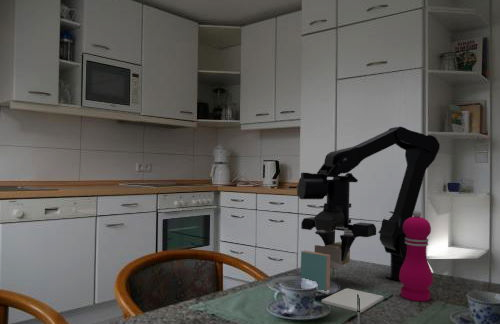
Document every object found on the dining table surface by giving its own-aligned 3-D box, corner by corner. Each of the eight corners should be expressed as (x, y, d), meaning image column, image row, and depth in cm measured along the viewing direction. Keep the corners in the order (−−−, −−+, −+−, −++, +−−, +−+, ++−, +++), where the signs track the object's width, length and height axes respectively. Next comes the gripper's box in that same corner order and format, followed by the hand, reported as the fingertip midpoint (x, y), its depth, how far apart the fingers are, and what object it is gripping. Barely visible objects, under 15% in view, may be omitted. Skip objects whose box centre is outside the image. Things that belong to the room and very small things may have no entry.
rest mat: (346, 290, 98) (346, 288, 98) (383, 298, 93) (383, 296, 93) (321, 302, 89) (321, 299, 89) (360, 312, 83) (361, 309, 83)
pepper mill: (417, 304, 90) (419, 212, 90) (391, 294, 96) (393, 208, 96) (439, 299, 93) (441, 211, 93) (413, 290, 99) (415, 208, 100)
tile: (303, 287, 100) (304, 250, 100) (329, 293, 96) (330, 254, 96) (300, 288, 99) (300, 251, 99) (325, 295, 95) (326, 255, 95)
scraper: (332, 259, 112) (333, 240, 112) (356, 263, 107) (357, 244, 107) (314, 265, 104) (314, 245, 104) (339, 270, 100) (339, 249, 100)
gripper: (290, 198, 106) (289, 259, 106) (358, 204, 94) (357, 272, 94) (312, 196, 115) (311, 252, 114) (377, 201, 103) (376, 264, 103)
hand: (336, 260), depth 106 cm, fingers closed on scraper, 3 cm apart
